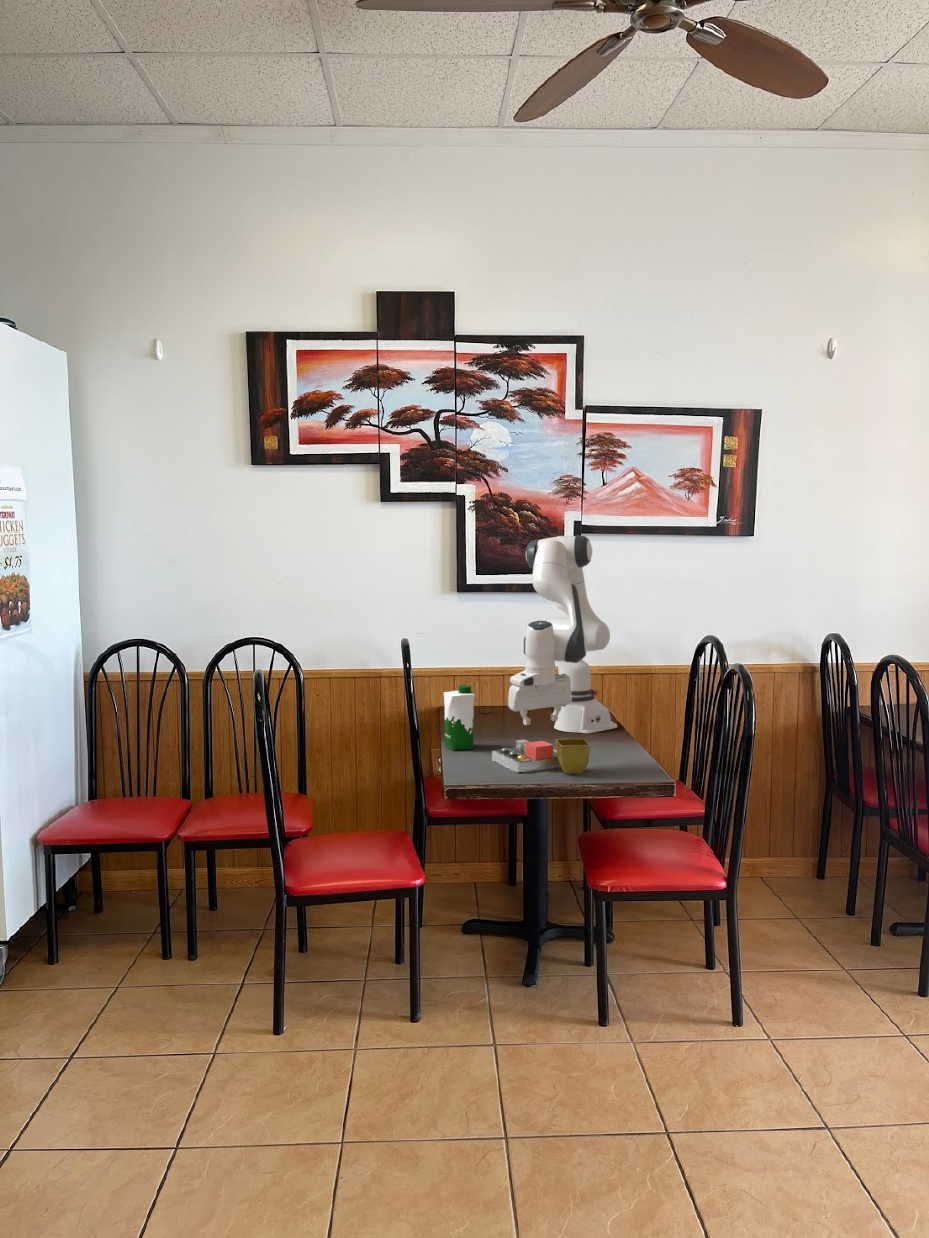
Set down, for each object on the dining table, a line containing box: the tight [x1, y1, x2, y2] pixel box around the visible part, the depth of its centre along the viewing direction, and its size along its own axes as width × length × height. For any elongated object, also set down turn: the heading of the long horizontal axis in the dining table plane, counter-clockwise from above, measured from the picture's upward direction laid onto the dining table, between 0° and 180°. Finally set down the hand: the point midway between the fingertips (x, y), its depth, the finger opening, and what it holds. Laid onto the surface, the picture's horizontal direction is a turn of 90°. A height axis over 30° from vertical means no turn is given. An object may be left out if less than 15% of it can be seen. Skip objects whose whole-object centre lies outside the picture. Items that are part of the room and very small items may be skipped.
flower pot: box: [555, 738, 591, 775], centre depth 266 cm, size 9×9×9 cm
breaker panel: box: [491, 739, 561, 773], centre depth 276 cm, size 18×16×6 cm
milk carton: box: [443, 684, 476, 752], centre depth 294 cm, size 9×9×20 cm
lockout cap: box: [526, 740, 554, 760], centre depth 271 cm, size 6×6×4 cm
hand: (540, 722), depth 270 cm, fingers open, 8 cm apart
